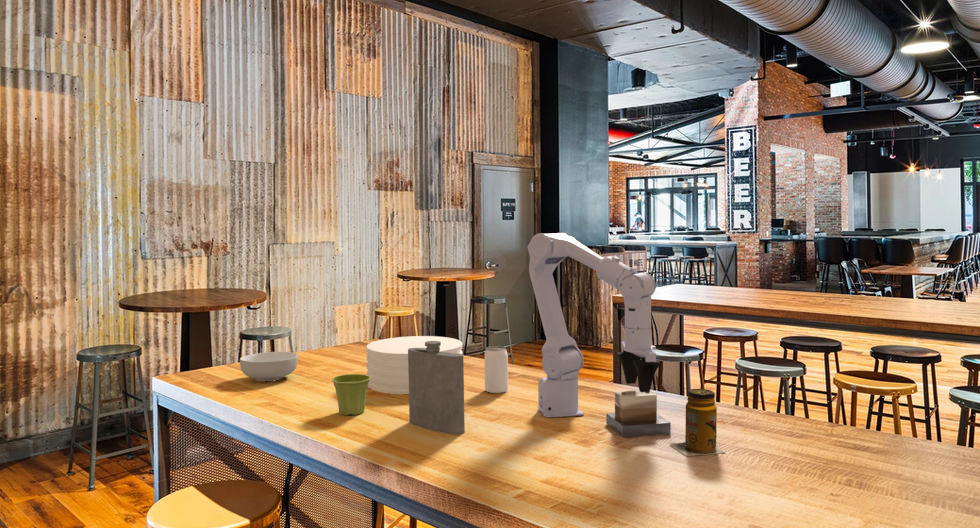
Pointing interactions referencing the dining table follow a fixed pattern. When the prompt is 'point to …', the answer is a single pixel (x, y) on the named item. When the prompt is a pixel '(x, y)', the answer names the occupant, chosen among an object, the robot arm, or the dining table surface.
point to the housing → (635, 406)
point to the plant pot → (351, 392)
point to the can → (496, 369)
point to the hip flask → (436, 389)
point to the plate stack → (399, 360)
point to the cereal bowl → (269, 365)
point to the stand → (639, 426)
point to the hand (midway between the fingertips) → (637, 387)
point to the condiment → (700, 424)
